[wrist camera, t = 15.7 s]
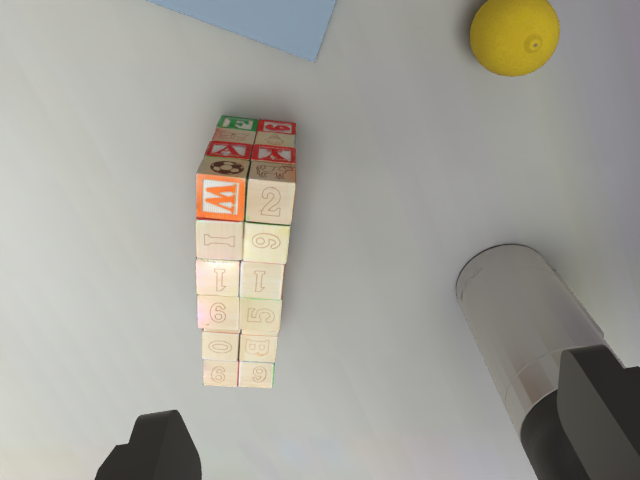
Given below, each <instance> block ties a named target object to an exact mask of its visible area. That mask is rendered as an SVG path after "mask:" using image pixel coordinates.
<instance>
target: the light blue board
mask: <svg viewBox="0 0 640 480" xmlns="http://www.w3.org/2000/svg"><path fill="white" fill-rule="evenodd" d="M146 1H149V2H152V3H155V4H157V5H160V6H163V7H165V8H168V9H171V10H174V11H176V12H179V13H182V14H184V15H187V16H190V17H193V18H195V19H198V20H201V21H203V22H206V23H209V24H212V25H214V26H217V27H220V28H222V29H225V30H228V31H230V32H233V33H236V34H239V35H241V36H244V37H247V38H249V39H252V40H255V41H258V42H260V43H263V44H266V45H268V46H271V47H274V48H277V49H279V50H282V51H285V52H287V53H290V54H293V55H296V56H298V57H301V58H304V59H306V60H309V61H312V62H314V63H315V60H316V57H317V54H318V52H319V49H320V46H321V43H322V40H323V37H324V34H325V31H326V29H327V26H328V23H329V20H330V17H331V14H332V11H333V8H334V6H335V3H336V0H146Z"/></svg>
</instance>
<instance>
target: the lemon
mask: <svg viewBox="0 0 640 480" xmlns="http://www.w3.org/2000/svg"><path fill="white" fill-rule="evenodd" d="M559 35H560V27H559V20H558V17H557V14H556V12H555V10H554V9H553V8H552V6H551V5H550V4H549V2H548V1H547V0H487V1H486V2H485V3H484V4H483V5H482V6H481V7H480V9H479V10H478V12H477V13H476V15H475V17H474V19H473V21H472V24H471V29H470V45H471V48H472V51H473V54H474V55H475V57H476V59H477V60H478V62H479V63H480V64H481V65H483V66H484V67H485V68H486V69H487V70H489V71H491V72H493V73H496V74H498V75H503V76H511V77H513V76H521V75H526V74H528V73H531V72H533V71H535V70H537V69H538V68H540V67H541V66H543V65H544V64H545V63H546V62H547V61H548V60H549V58H550V57H551V55H552V54H553V53H554V51H555V49H556V46H557V44H558V40H559Z"/></svg>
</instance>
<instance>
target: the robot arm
mask: <svg viewBox="0 0 640 480" xmlns="http://www.w3.org/2000/svg"><path fill="white" fill-rule="evenodd" d="M456 295H457V298H458V301H459V304H460V306H461V308H462V311H463V313H464V315H465V317H466V320H467V322H468V324H469V327H470V329H471V331H472V333H473V336H474V338H475V340H476V342H477V345H478V347H479V349H480V351H481V354H482V356H483V358H484V360H485V363H486V365H487V367H488V369H489V372H490V374H491V376H492V378H493V381H494V383H495V385H496V387H497V390H498V392H499V394H500V396H501V399H502V401H503V403H504V405H505V408H506V410H507V412H508V414H509V416H510V419H511V421H512V423H513V425H514V428H515V430H516V432H517V434H518V437H519V439H520V441H521V443H522V446H523V448H524V450H525V452H526V455H527V457H528V459H529V461H530V463H531V465H532V467H533V469H534V471H535V474H536V476H537V478H538V480H640V367H631V368H626V367H625V366H624V365H623V363H622V362H621V361H620V359H619V358H618V357H617V356H616V354H615V353H614V352H613V350H612V349H611V348H610V346H609V345H608V344H607V342H606V341H605V340H604V333H603V331H602V330H601V329H600V327H599V326H598V325H597V324H596V322H595V321H594V320H593V318H592V317H591V316H590V314H589V313H588V312H587V311H586V309H585V308H584V307H583V305H582V304H581V303H580V301H579V300H578V299H577V298H576V296H575V295H574V294H573V292H572V291H571V290H570V289H569V287H568V286H567V285H566V283H565V282H564V281H563V279H562V278H561V277H560V276H559V274H558V273H557V272H556V271H554V270H552V269H551V268H550V267H549V265H548V264H547V263H546V261H545V260H544V259H543V258H542V257H541V256H540V255H539V253H537V252H536V251H534V250H532V249H531V248H528V247H525V246H520V245H502V246H498V247H494V248H491V249H489V250H487V251H484V252H482V253H481V254H479V255H478V256H476V257H475V258H473V259H472V260H471V261H470V262H469V263H468V264H467V265H466V266H465V268H464V269H463V270H462V272H461V274H460V276H459V278H458V281H457V286H456ZM201 479H202V472H201V462H200V457H199V454H198V452H197V449H196V447H195V445H194V443H193V441H192V439H191V436H190V434H189V432H188V430H187V428H186V426H185V423H184V421H183V419H182V417H181V415H180V413H179V412H178V411H177V410H170V411H163V412H157V413H151V414H144V415H140V416H139V417H138V418H137V420H136V422H135V425H134V428H133V431H132V434H131V437H130V440H129V443H128V444H122V445H116V446H115V448H114V449H113V450H112V452H111V453H110V454H109V456H108V457H107V458H106V460H105V461H104V462H103V464H102V465H101V466H100V468H99V469H98V472H97V474H96V477H95V480H201Z"/></svg>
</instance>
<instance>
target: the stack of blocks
mask: <svg viewBox="0 0 640 480" xmlns="http://www.w3.org/2000/svg"><path fill="white" fill-rule="evenodd" d="M295 142H296V124H295V123H288V122H279V121H269V120H255V119H246V118H238V117H228V116H221V118H220V120H219V122H218V124H217V126H216V132H215V134H214V136H213V138H212V141H210V143H209V145H208V148H207V149H206V152H205V155H204V158H203V160H202V162H201V164H200V167H199V169H198V171H197V173H196V215H197V217H196V222H195V224H196V255H197V257H196V261H195V269H196V292H197V320H198V328H203V329H202V359H203V385H211V386H229V387H237V386H241V387H259V388H272V387H273V376H274V364H275V360H276V349H277V339H278V332H279V331H280V322H281V310H282V294H283V277H284V265H285V264H286V263H287V255H288V245H289V236H290V224H291V222H292V214H293V206H294V197H295V188H296V149H295Z"/></svg>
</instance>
